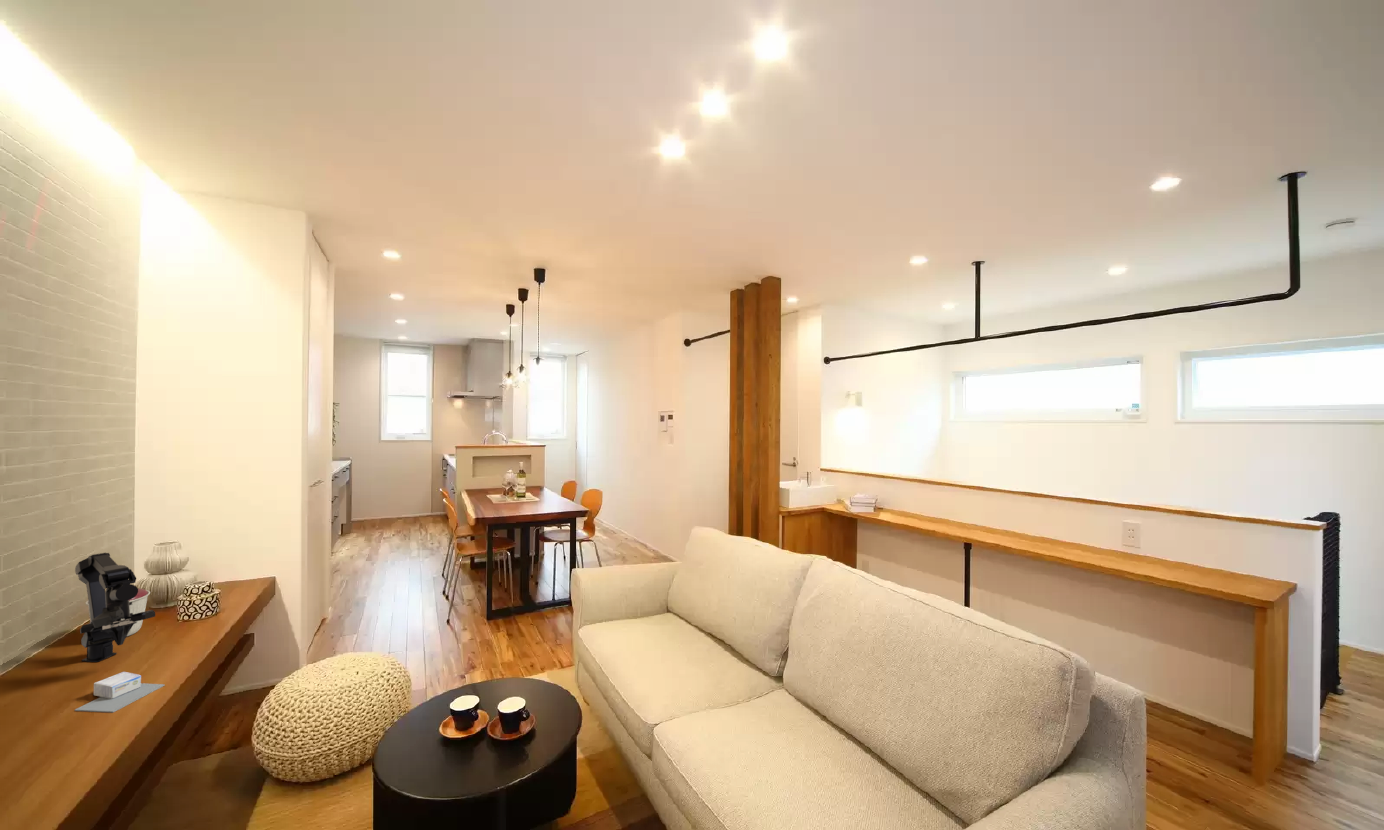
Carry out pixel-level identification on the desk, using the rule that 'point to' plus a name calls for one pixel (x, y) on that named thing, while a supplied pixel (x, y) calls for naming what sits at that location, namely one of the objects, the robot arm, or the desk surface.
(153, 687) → the slate mat
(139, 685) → the medicine box
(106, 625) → the robot arm
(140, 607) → the canister
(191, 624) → the desk surface
